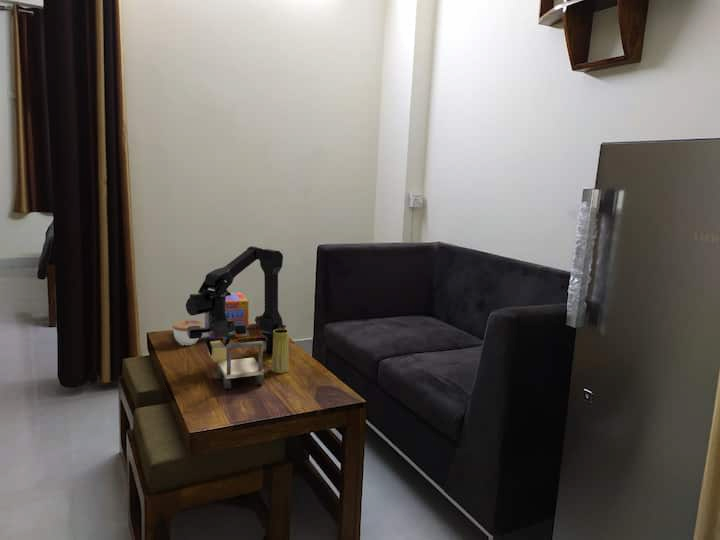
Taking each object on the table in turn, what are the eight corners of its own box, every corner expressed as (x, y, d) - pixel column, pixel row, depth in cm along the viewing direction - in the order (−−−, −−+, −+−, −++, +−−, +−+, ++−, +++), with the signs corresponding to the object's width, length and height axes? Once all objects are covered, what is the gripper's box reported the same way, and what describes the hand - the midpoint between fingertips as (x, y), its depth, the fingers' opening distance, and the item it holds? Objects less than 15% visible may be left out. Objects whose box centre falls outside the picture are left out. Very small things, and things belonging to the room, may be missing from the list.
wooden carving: (247, 341, 217) (247, 317, 215) (245, 337, 221) (245, 314, 219) (287, 338, 223) (287, 315, 221) (284, 335, 227) (285, 312, 225)
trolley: (253, 372, 184) (253, 330, 181) (263, 386, 172) (264, 341, 170) (217, 376, 179) (217, 333, 176) (226, 391, 167) (226, 345, 164)
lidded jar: (181, 338, 217) (180, 315, 215) (206, 340, 215) (206, 317, 214) (168, 346, 206) (167, 322, 205) (194, 348, 205) (194, 325, 203)
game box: (204, 329, 230) (204, 293, 227) (241, 326, 236) (241, 292, 233) (210, 340, 216) (209, 302, 213) (248, 336, 222) (248, 300, 219)
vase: (292, 370, 187) (293, 331, 184) (278, 374, 182) (279, 334, 180) (281, 365, 191) (282, 327, 188) (267, 369, 187) (268, 330, 184)
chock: (220, 352, 187) (219, 340, 186) (226, 360, 180) (226, 347, 179) (208, 354, 185) (208, 341, 184) (214, 361, 178) (214, 348, 177)
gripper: (191, 318, 168) (192, 365, 171) (250, 313, 176) (250, 359, 179) (186, 309, 178) (187, 354, 181) (242, 305, 186) (242, 348, 189)
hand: (217, 354), depth 182 cm, fingers closed on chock, 4 cm apart
